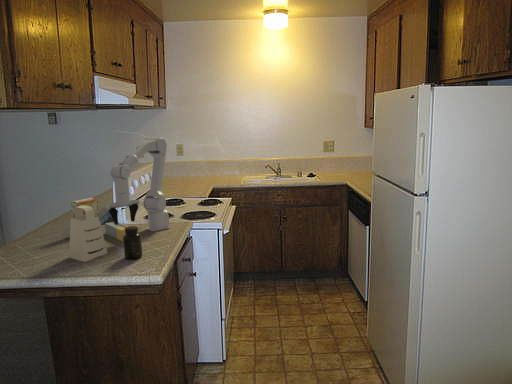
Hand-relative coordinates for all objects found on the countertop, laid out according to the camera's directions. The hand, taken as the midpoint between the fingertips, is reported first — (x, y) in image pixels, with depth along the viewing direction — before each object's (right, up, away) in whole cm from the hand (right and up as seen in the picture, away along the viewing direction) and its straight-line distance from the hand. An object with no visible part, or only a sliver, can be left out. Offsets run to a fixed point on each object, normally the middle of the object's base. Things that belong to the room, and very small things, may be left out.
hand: (124, 222), depth 190 cm
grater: (-9, -12, -18) cm, 23 cm away
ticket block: (-7, -6, +9) cm, 13 cm away
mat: (-2, -7, +5) cm, 9 cm away
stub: (0, -7, +2) cm, 8 cm away
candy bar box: (-22, -6, +14) cm, 27 cm away
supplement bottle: (+10, -12, -21) cm, 26 cm away
